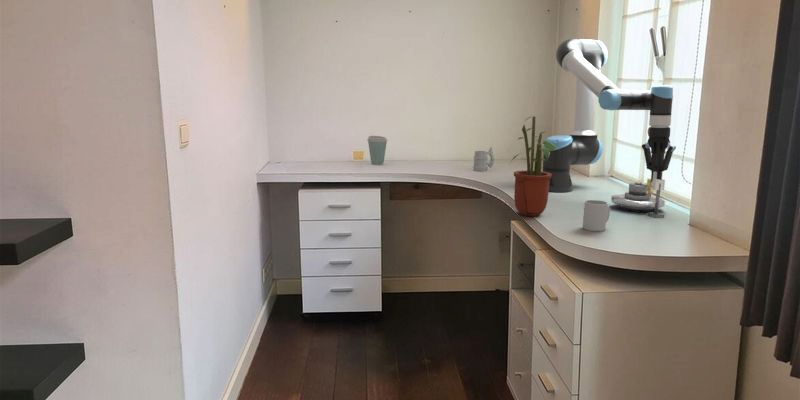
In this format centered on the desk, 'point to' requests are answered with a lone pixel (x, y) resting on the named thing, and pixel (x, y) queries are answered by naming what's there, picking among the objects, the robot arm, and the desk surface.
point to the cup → (595, 215)
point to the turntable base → (636, 209)
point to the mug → (483, 160)
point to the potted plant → (532, 177)
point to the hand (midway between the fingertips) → (655, 188)
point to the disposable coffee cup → (377, 149)
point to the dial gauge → (657, 197)
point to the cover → (637, 192)
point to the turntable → (638, 204)
